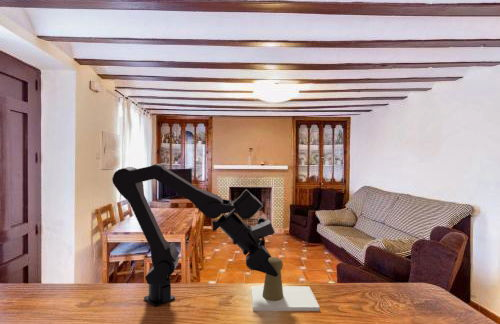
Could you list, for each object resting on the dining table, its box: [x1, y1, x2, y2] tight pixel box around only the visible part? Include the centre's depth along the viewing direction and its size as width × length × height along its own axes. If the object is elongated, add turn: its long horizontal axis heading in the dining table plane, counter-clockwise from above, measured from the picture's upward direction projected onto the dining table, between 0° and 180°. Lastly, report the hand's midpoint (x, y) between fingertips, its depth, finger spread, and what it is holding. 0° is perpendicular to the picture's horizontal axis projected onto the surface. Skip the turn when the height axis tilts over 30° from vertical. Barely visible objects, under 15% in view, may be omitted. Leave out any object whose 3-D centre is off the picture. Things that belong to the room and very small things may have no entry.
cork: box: [263, 256, 284, 301], centre depth 96 cm, size 6×6×11 cm
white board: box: [250, 285, 321, 312], centre depth 96 cm, size 18×13×1 cm
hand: (275, 269), depth 95 cm, fingers open, 9 cm apart
